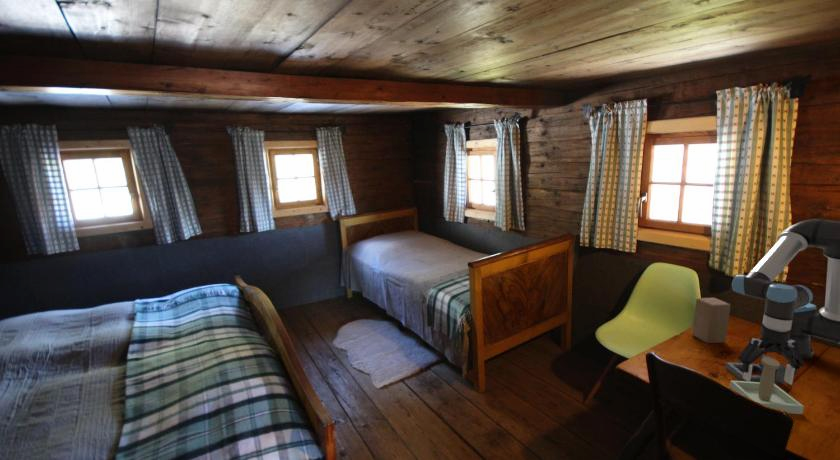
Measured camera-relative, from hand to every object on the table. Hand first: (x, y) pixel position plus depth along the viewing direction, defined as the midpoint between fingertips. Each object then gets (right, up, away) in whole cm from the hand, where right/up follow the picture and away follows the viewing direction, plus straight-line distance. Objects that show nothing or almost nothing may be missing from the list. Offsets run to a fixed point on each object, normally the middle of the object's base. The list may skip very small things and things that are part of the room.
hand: (766, 381), depth 139 cm
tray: (0, -8, +1) cm, 8 cm away
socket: (+10, -4, +17) cm, 20 cm away
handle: (0, -7, +1) cm, 7 cm away
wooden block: (+16, +1, +49) cm, 51 cm away
